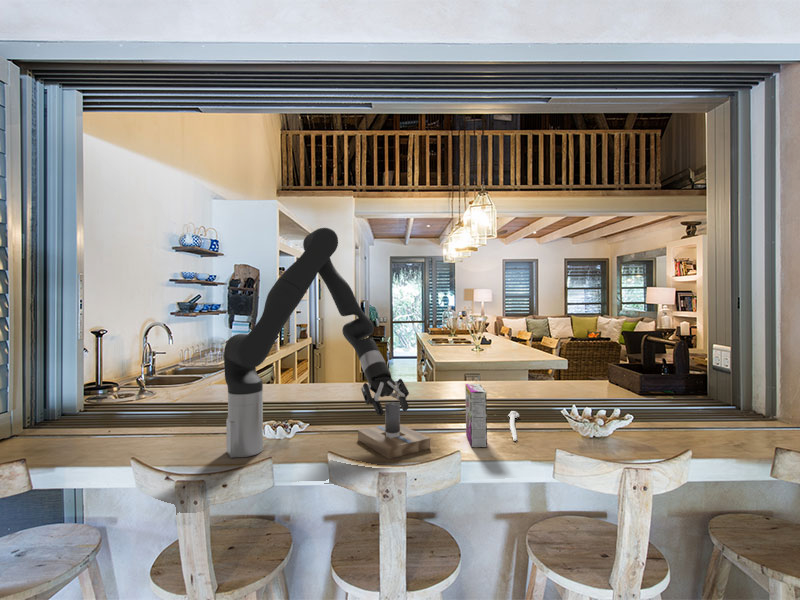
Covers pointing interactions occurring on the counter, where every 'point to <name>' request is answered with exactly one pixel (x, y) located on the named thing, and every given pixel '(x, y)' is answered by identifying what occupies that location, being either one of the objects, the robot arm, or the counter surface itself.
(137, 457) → the counter surface
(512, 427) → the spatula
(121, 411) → the counter surface
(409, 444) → the board
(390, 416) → the grey peg
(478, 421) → the candy bar box
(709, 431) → the counter surface
